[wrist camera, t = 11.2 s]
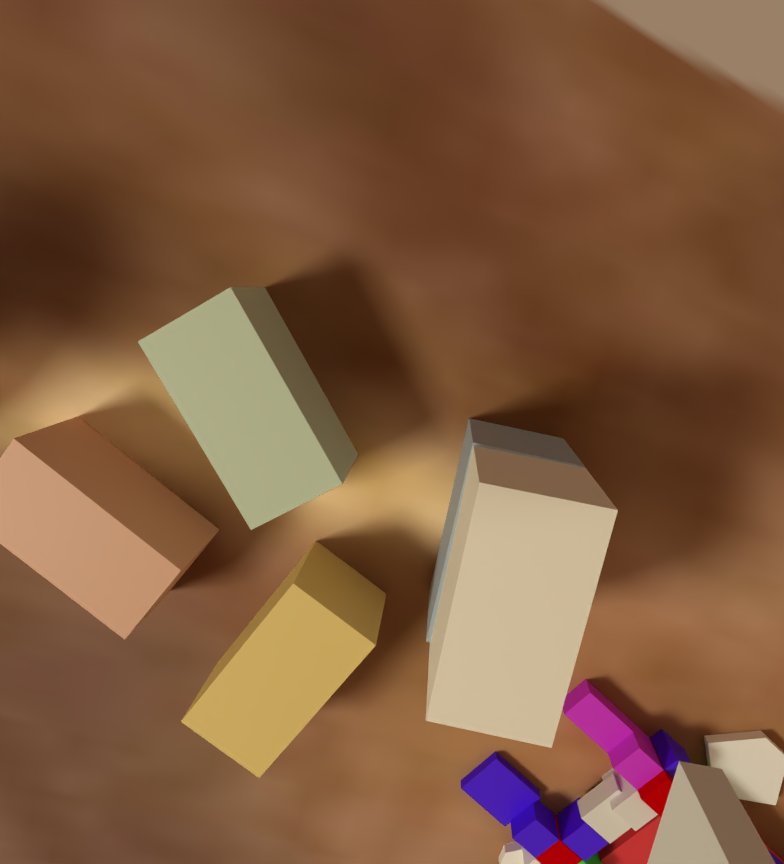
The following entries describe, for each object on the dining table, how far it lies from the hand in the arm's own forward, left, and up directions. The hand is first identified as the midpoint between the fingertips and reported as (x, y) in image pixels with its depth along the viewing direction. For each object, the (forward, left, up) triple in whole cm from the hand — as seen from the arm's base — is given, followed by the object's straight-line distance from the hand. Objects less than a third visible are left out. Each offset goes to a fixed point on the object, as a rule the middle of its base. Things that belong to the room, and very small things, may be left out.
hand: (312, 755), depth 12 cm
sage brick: (-2, -6, -20) cm, 21 cm away
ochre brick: (+10, -3, -20) cm, 22 cm away
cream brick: (+2, +5, -15) cm, 16 cm away
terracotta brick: (+5, -13, -20) cm, 24 cm away
